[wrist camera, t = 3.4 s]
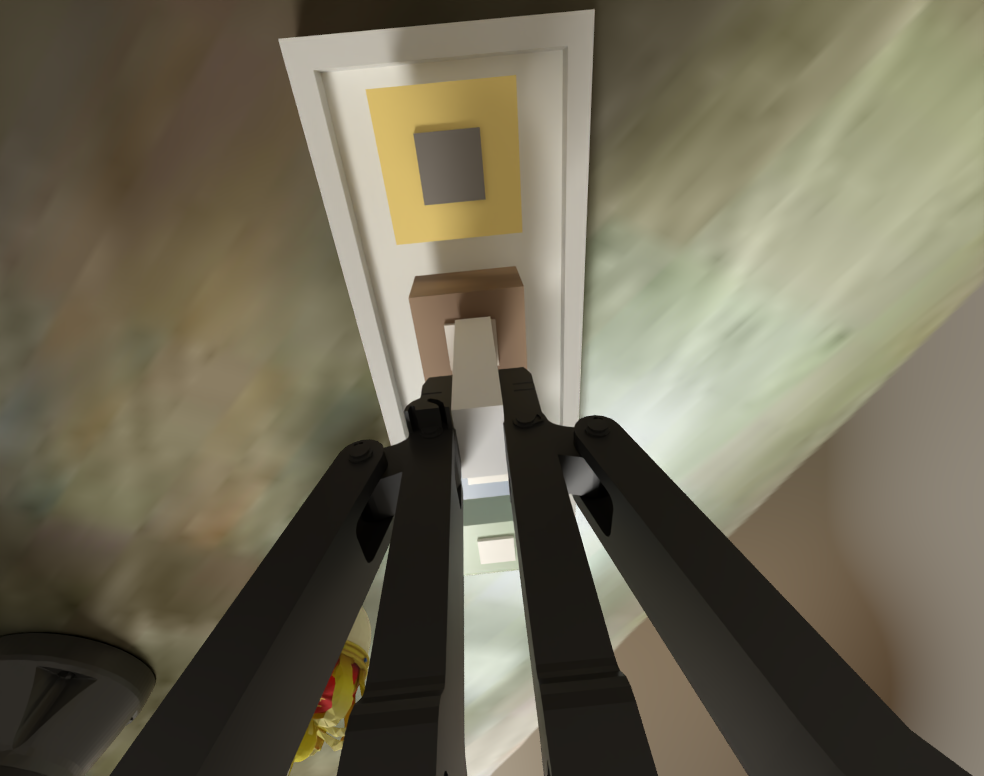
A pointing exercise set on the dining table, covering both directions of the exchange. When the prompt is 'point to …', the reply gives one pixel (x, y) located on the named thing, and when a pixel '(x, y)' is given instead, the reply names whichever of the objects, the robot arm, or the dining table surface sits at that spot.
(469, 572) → the key
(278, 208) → the dining table surface
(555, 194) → the base
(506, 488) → the blue square block
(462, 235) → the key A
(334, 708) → the toy
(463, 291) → the key
